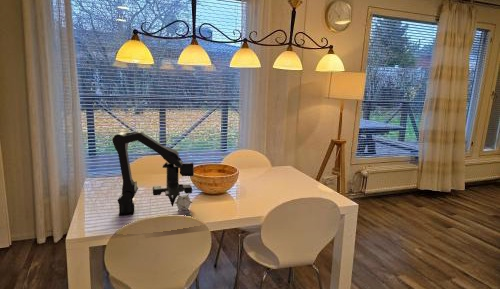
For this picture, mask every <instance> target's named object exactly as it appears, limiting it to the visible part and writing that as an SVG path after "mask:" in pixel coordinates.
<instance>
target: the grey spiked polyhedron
mask: <svg viewBox="0 0 500 289" xmlns="http://www.w3.org/2000/svg"><path fill="white" fill-rule="evenodd" d="M189 195H190V193H187V194H186V195H183V194H182V195H178V196H177V198H176V200H175V202H174V204H176V206H177V210H178V211H177V212H179V211H183V210H184V211H185V210H186V211H188V212H190V210H189V208H190V206H191V204H193V201H191V198H190V197H189Z"/></svg>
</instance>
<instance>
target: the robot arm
mask: <svg viewBox="0 0 500 289" xmlns="http://www.w3.org/2000/svg"><path fill="white" fill-rule="evenodd" d="M133 142H140V143H141V144H143V145H144V146H146V147H147V148H149V149H150V150H152V151H154V152H155V153H157V154H158V155H160V157H161V158H162V159H163V160H164V161H165V162H164V164H162V168H165V169H166V187H163V188H162V186H161V185H160V186H159V185H158V186H157V185H156V186H155V185H154V186H153V187H152V196H160V195H161V194H162V193H164V194H165V197H168V199H169V202H170V204H171V207H174V204H175V202H176V200H177V198H178V197H179V196H181V193H182V192H184V194H192V193H193V187H192V185H191V184H184V183H183V184H182V183H181V184H180V183H179V177H180V176H182V177H194V175H195V173H194V172H195V171H194V170H195V169H194V168H195V167H194V162H183V159H181V158H180V153H179V152H178V151H177V150H175V149H173V148H171V147H168V146H164V145H163V144H161V143H159V142H158V141H156V140H154V138H152V137H150V136H148V135H147V134H145V133H144V132H143V131H141V130H138V131H135V132H134V131H133V132H121V131H120V132H118V133H117V134H115V135H114V136H113V137H112V145H113V146H114V149H115V150H116V152H117V156H118V160H119V166H120V167H119V168H120V171H121V178H122V188H121V194H120V196H119V197H118V199H117V204H118V210H119V213H118V216H119V217H120V216H121V217H122V216H132V215H134V213H135V202H134V201H133V200H134V198H135V196H136V194H137V193H138V190H139V188H138V182H137V181H134V180H133V177H132V176H133V175H132V171H131V165H130V158H129V152H128V150H129V149H128V148H129V143H133ZM179 175H180V176H179ZM178 195H179V196H178Z"/></svg>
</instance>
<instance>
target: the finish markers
mask: <svg viewBox="0 0 500 289" xmlns="http://www.w3.org/2000/svg"><path fill="white" fill-rule="evenodd" d="M184 215H186V216H191V217H192V213H191V212H190V211H188V212H183V216H184Z"/></svg>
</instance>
